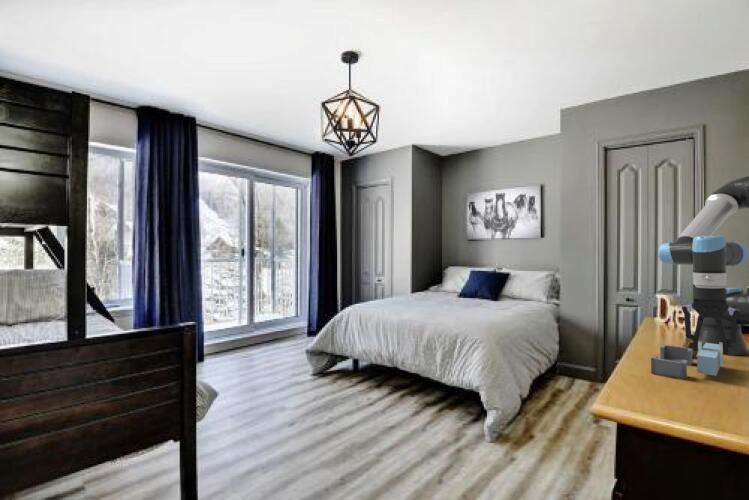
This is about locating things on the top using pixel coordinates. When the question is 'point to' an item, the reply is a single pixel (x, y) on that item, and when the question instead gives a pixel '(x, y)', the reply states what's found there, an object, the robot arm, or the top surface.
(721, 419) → the top surface
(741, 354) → the robot arm
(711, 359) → the slat
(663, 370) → the end caps
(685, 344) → the rock
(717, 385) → the top surface
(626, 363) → the top surface
